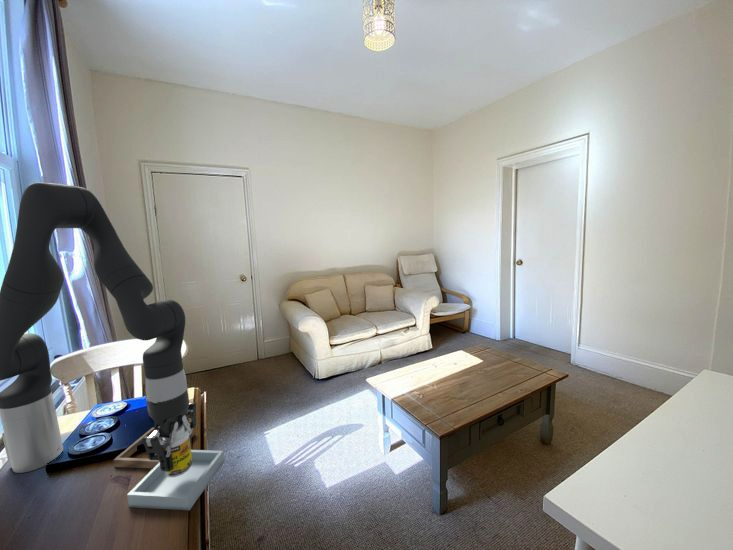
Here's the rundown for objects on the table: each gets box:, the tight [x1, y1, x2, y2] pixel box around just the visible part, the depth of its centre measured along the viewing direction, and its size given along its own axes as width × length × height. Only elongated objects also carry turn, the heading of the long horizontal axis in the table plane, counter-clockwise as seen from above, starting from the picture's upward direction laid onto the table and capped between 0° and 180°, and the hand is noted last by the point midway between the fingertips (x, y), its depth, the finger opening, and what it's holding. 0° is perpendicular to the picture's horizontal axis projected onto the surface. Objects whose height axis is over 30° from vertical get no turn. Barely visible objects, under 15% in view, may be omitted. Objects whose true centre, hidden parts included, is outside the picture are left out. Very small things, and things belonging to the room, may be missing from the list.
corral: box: [113, 426, 195, 470], centre depth 83 cm, size 13×13×2 cm
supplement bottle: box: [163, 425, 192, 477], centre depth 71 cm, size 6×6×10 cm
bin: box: [126, 449, 225, 511], centre depth 72 cm, size 14×14×3 cm
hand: (177, 459), depth 71 cm, fingers closed on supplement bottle, 5 cm apart
